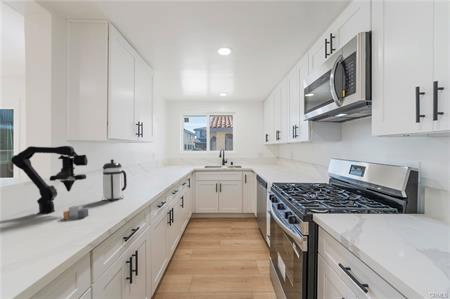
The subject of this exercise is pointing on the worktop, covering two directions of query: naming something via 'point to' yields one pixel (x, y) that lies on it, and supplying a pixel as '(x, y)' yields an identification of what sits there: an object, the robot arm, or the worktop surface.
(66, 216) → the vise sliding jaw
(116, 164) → the coffee press
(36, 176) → the robot arm
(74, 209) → the steel block
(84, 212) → the block
